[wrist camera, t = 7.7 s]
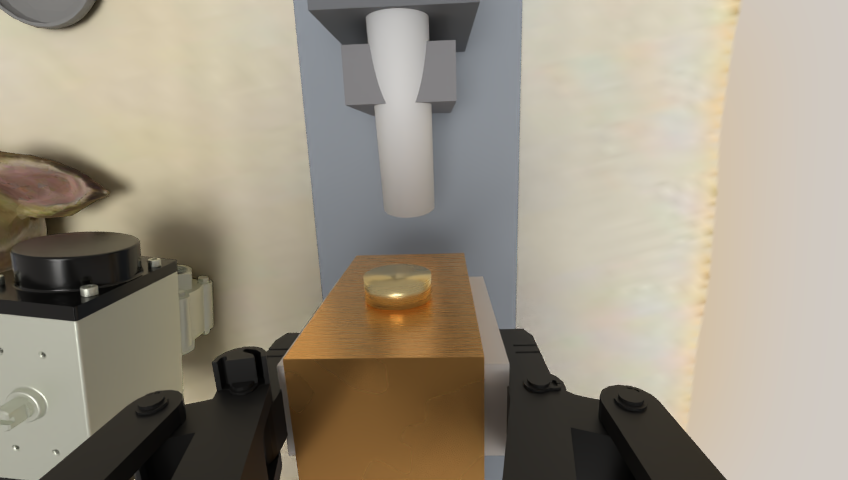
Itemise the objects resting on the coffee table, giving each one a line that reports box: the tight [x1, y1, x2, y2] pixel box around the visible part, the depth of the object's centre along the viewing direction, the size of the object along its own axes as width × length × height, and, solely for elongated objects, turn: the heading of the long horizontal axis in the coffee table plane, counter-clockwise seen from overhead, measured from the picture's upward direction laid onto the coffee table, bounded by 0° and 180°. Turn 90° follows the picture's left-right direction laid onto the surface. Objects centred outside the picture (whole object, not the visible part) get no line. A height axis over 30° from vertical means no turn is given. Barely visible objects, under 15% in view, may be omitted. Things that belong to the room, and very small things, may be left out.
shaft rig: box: [293, 0, 522, 480], centre depth 21 cm, size 32×12×9 cm, turn 2°
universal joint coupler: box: [283, 253, 484, 480], centre depth 13 cm, size 6×4×8 cm
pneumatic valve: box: [0, 232, 214, 480], centre depth 21 cm, size 6×12×12 cm, turn 174°
